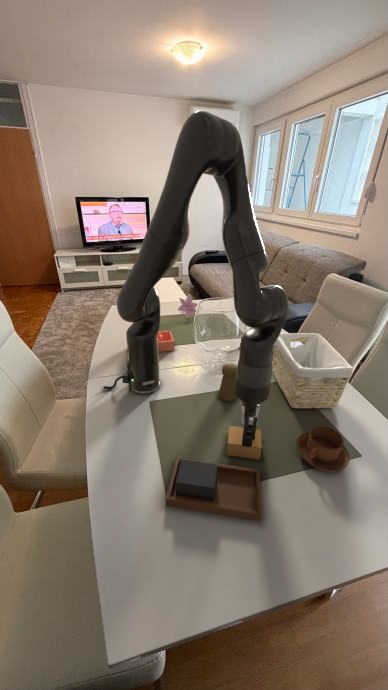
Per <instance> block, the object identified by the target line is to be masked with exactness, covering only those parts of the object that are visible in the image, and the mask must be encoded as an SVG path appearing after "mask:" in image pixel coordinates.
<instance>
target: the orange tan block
mask: <svg viewBox="0 0 388 690" xmlns="http://www.w3.org/2000/svg"><path fill="white" fill-rule="evenodd" d="M242 431H243V427H241V426H235V425H229V426H228V433H227V444H226V456H231V457H237V458H245V459H253V460H258V461H259V460H260V459H261V454H262V450H263V447H262V446H263V444H262V429H258V428H256V432H255V440H252V446H251V447H244V446H242V439H243V437H242V436H243V433H242Z"/></svg>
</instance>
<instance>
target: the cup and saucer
mask: <svg viewBox="0 0 388 690" xmlns="http://www.w3.org/2000/svg"><path fill="white" fill-rule="evenodd" d="M296 448H297V449H296V450H297V452H298V453H299V455H300V457H301V458H302V460H304V461H305V462H306V463H307V464H309V465H310V466H312V467H314V468H316V469H318V470H320V471H324V472H340V471H342V470H344V469H346V468H347V467H348V465H349V464H350V453H349V451H348V449H347V448H346V446H345V445H344V439H343V437H342V435H341V434H340V433H339V432H338V431H336V430H335V429H333V428H331V427H329V426H325V425H317V426H314V427H312V428H311V429H310V431H309V432H305V433H303V434H301V435H300V436H299V437H298V439H297V441H296Z"/></svg>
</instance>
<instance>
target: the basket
mask: <svg viewBox="0 0 388 690" xmlns="http://www.w3.org/2000/svg"><path fill="white" fill-rule="evenodd" d="M295 342H299V343H300V342H302V344H300V345H298V346H296V347H292V345H291V344H292V343H295ZM272 366H273V370H272V375H274V378H275V380H276V382H277V384H278V386H279V387H280V389H281V391H282V393H283V395H284V397H285V398H286V400H287V402H288V404H289V406H290V407H291V408H293V409H328V408H330V409H332V408H336V407H337V406H338V404H339V402H340V400H341V398H342V396H343V393H344V391H345V389H346V385H347V384H348V383H349V381H350V378H352V377H353V371H354V368H353V367H352V365H350V363H349V362H348V361H347V360H346V359H345V358H344V357H343V356H342V355H341V354H340V353H339V352H338V351H337V350H336V349H335V348H334V347H333V346H332V345H331V344H330V343H329V342H328V341H327V340H326V338H324V336H322V335H321V333H317V332H315V333H311V332H310V333H309V332H290V333H289V332H287V333H285V332H281V333H280V335H279V337H278V339H277V341H276V344H275V350H274V357H273V365H272Z"/></svg>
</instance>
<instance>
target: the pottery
mask: <svg viewBox="0 0 388 690" xmlns="http://www.w3.org/2000/svg"><path fill="white" fill-rule="evenodd" d="M170 351H171V352H172V351H175V339H174V337H173V334H172V332H171V330H164V331H159V332H158V353H160V352H170Z"/></svg>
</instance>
